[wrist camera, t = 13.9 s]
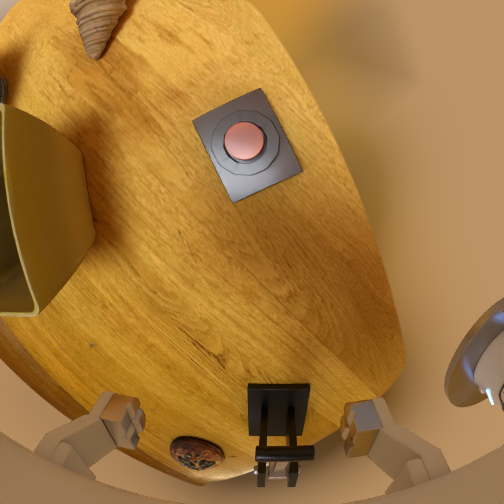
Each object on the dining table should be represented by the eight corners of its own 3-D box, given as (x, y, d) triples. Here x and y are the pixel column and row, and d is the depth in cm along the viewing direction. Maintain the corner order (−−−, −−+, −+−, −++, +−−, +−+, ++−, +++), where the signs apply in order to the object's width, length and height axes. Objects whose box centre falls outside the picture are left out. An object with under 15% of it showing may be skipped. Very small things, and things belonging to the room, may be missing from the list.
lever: (256, 440, 20) (254, 464, 18) (314, 439, 20) (315, 463, 18) (258, 463, 30) (257, 478, 28) (295, 463, 30) (295, 478, 28)
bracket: (248, 383, 38) (239, 458, 25) (309, 383, 38) (319, 458, 25) (249, 430, 42) (243, 496, 28) (301, 430, 41) (306, 495, 28)
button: (270, 151, 26) (270, 149, 24) (236, 166, 27) (234, 166, 25) (254, 118, 25) (253, 115, 24) (220, 134, 26) (217, 132, 24)
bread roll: (186, 429, 42) (182, 451, 38) (235, 447, 45) (235, 468, 41) (160, 445, 46) (156, 465, 41) (205, 462, 48) (204, 480, 44)
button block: (300, 171, 30) (305, 171, 26) (235, 201, 31) (230, 205, 28) (261, 93, 28) (260, 82, 24) (196, 124, 29) (186, 117, 25)
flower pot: (99, 116, 29) (2, 97, 13) (124, 258, 34) (40, 318, 18) (14, 160, 31) (-65, 170, 15) (36, 272, 36) (-36, 315, 20)
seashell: (116, 58, 30) (148, 39, 26) (69, 69, 25) (95, 47, 21) (106, -12, 23) (137, -36, 19) (60, -7, 17) (86, -37, 13)
